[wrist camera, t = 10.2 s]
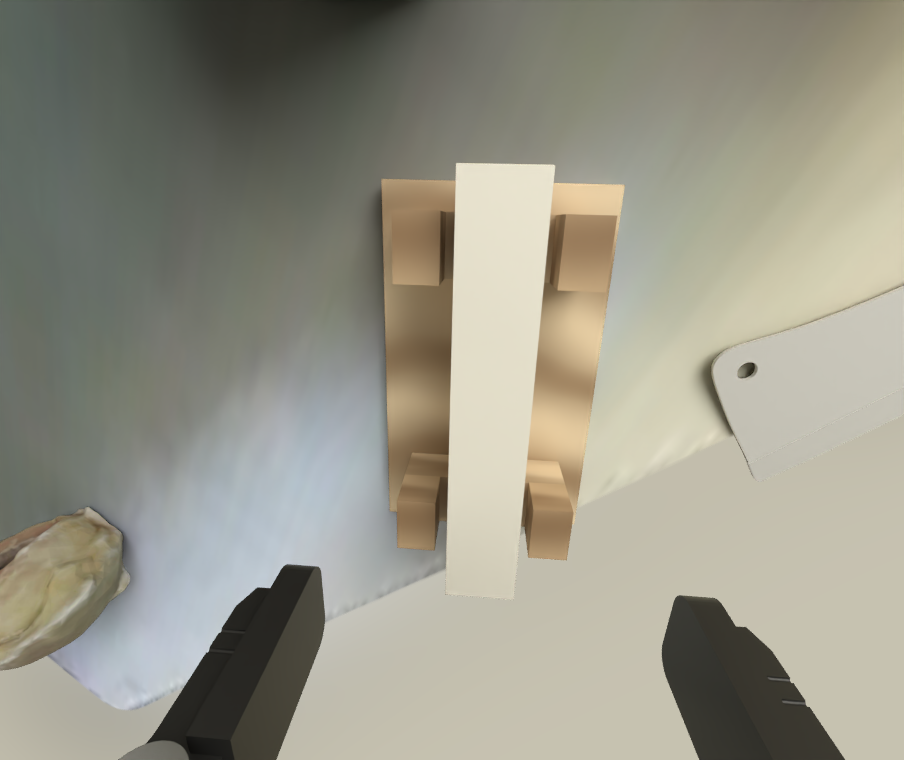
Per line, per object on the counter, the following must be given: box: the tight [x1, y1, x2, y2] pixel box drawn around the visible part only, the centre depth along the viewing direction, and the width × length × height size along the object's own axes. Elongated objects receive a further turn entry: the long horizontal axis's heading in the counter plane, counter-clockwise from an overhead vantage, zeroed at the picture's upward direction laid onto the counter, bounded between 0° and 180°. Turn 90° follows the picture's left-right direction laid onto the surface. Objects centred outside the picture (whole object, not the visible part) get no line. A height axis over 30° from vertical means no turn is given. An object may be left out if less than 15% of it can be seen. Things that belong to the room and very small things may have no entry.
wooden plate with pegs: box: [382, 179, 625, 560], centre depth 23 cm, size 20×12×6 cm, turn 178°
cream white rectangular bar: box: [445, 163, 555, 600], centre depth 21 cm, size 20×4×4 cm, turn 179°
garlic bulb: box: [0, 507, 130, 670], centre depth 30 cm, size 9×8×10 cm
